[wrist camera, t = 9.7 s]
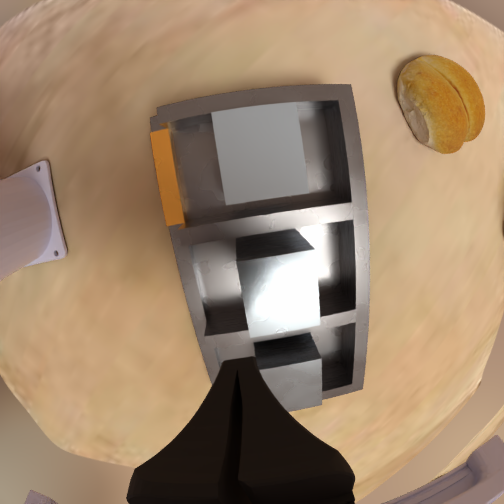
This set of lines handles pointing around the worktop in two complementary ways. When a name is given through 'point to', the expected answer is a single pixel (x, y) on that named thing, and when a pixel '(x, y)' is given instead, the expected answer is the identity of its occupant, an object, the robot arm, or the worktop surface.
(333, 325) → the rack
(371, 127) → the worktop surface
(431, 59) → the bread roll
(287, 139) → the grey block
